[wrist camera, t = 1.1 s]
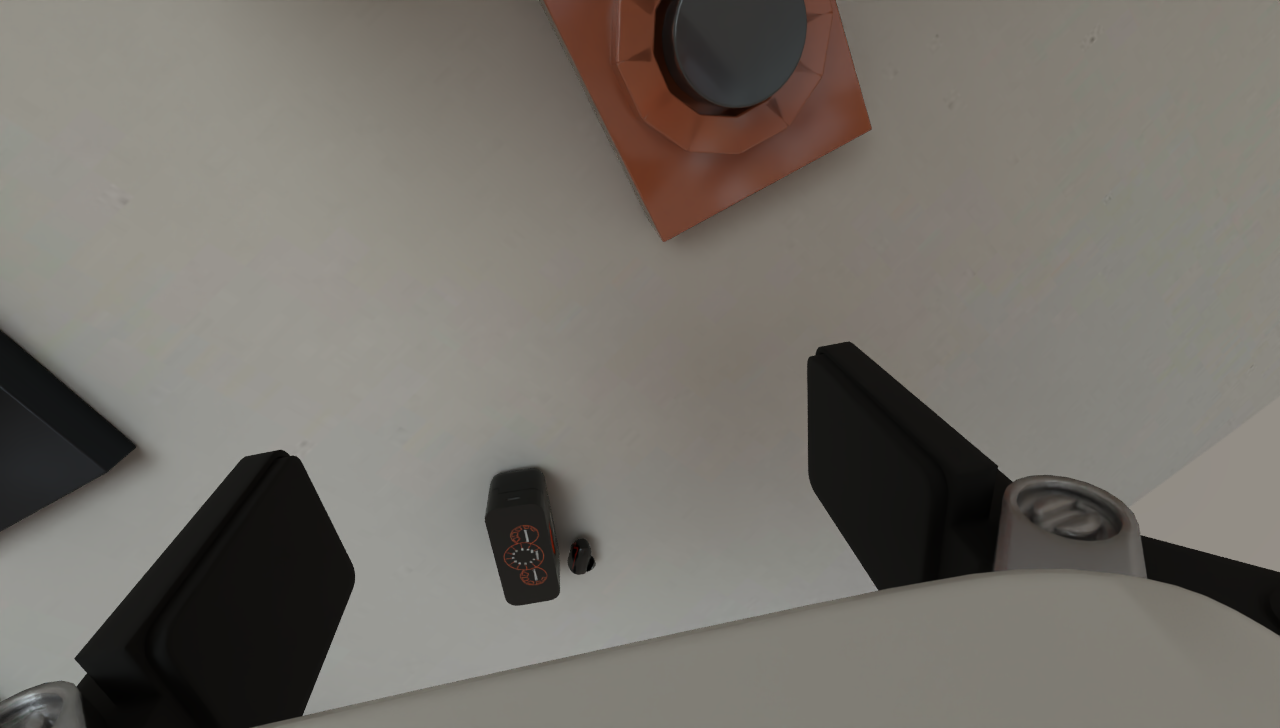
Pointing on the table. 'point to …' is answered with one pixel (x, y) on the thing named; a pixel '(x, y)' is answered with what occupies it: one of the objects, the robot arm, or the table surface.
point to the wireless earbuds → (528, 538)
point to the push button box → (704, 110)
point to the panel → (46, 437)
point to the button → (733, 48)
